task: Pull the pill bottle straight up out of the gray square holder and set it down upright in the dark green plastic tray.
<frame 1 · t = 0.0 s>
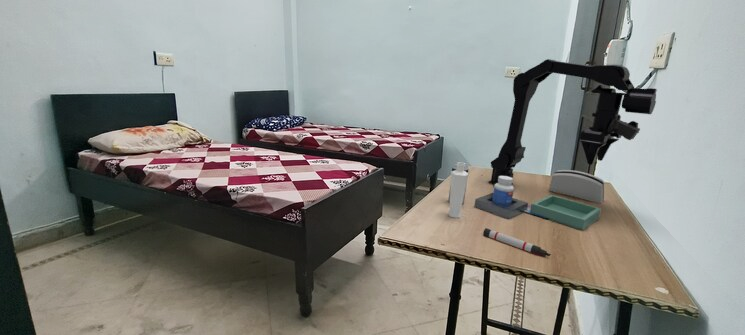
hand: (595, 162, 104), 15 cm above the table, fingers open, 9 cm apart
perfume bottle: (455, 216, 96), on the table
gray square holder: (500, 208, 103), on the table
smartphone: (527, 210, 104), on the table
marker: (515, 247, 81), on the table
napkin holder: (574, 196, 119), on the table
tray: (564, 215, 100), on the table
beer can: (455, 202, 106), on the table
pill bottle: (500, 209, 103), resting in gray square holder
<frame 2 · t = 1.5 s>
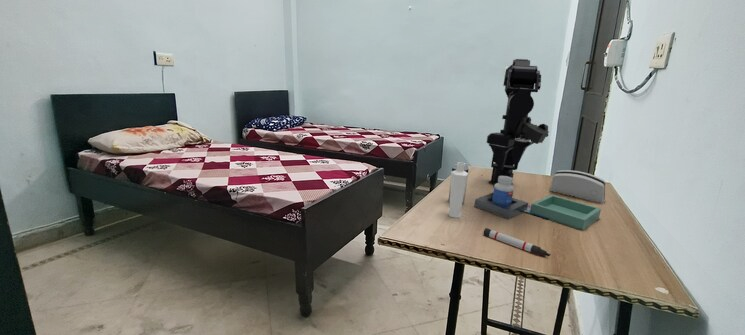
hand: (508, 166, 100), 13 cm above the table, fingers open, 9 cm apart
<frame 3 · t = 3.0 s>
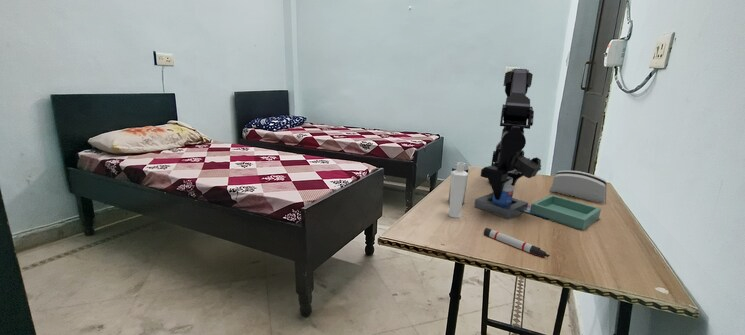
hand: (502, 197, 102), 4 cm above the table, fingers closed on pill bottle, 5 cm apart
pill bottle: (500, 209, 103), resting in gray square holder, touching gripper
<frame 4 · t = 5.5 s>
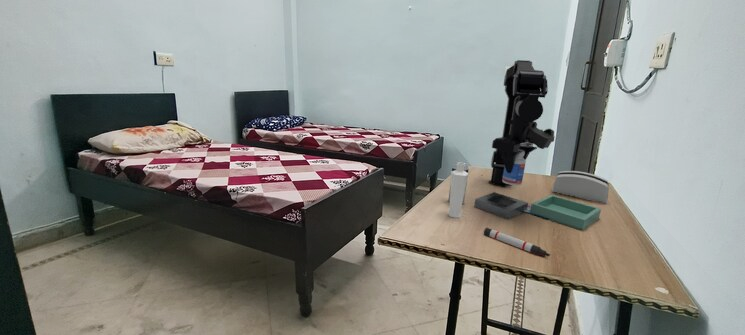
hand: (513, 171, 100), 12 cm above the table, fingers closed on pill bottle, 5 cm apart
pill bottle: (511, 183, 101), point 8 cm above the table, touching gripper
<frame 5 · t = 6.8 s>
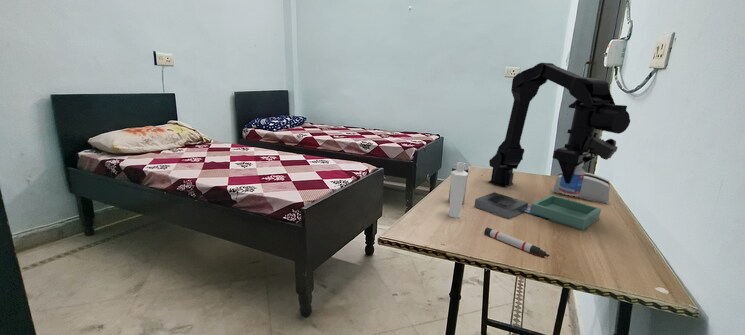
hand: (571, 181, 98), 10 cm above the table, fingers closed on pill bottle, 5 cm apart
pill bottle: (568, 193, 99), point 7 cm above the table, touching gripper
when the fingers open (6 cm above the table, at t = 7.9 s): pill bottle drops 2 cm, resting on tray.
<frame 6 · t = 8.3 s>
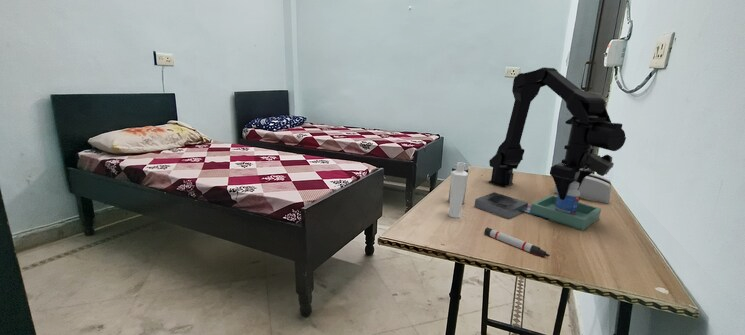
hand: (568, 196, 99), 6 cm above the table, fingers open, 9 cm apart
pill bottle: (564, 214, 100), resting on tray
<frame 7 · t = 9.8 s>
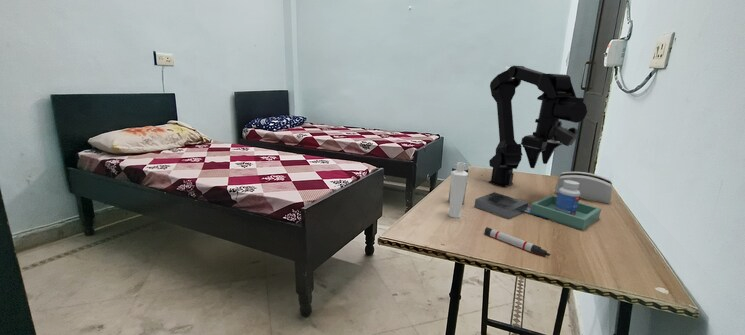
hand: (538, 165, 109), 12 cm above the table, fingers open, 9 cm apart
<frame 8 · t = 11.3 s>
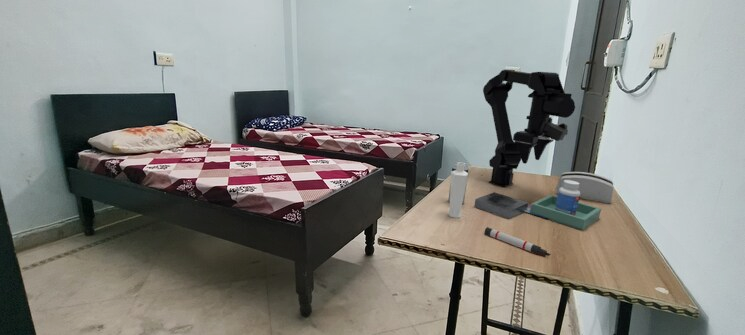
hand: (531, 161, 112), 12 cm above the table, fingers open, 9 cm apart
at the end: pill bottle inside the target area on the tray (0.2 cm from its centre), point 0.3 cm above the tray's base; pill bottle tilted 0°; the gripper is holding nothing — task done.
